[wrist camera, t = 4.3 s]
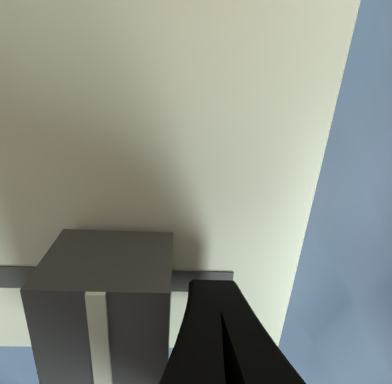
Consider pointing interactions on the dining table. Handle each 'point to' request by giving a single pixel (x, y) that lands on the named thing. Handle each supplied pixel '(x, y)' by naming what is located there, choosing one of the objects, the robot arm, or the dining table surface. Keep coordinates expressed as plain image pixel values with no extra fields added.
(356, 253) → the dining table surface
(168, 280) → the block
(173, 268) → the board
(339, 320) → the dining table surface
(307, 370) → the dining table surface
